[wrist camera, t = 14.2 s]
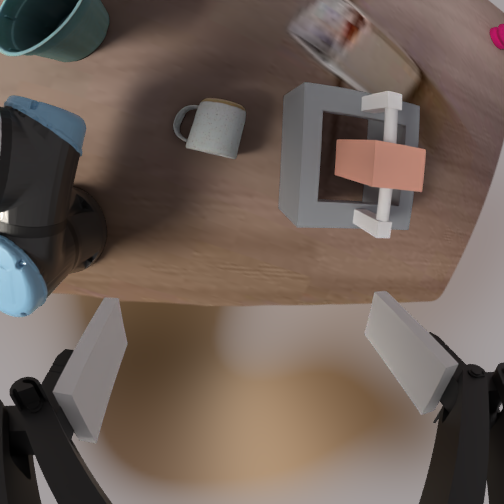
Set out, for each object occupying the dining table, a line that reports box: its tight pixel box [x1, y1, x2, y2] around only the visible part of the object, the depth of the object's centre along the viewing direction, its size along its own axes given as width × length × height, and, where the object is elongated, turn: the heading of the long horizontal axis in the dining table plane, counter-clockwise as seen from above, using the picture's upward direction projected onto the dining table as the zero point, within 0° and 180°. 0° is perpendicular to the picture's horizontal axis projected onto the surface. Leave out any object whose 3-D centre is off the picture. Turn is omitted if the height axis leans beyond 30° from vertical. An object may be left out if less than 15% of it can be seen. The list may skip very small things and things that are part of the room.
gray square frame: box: [278, 82, 420, 238], centre depth 40 cm, size 18×19×19 cm
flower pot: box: [0, 0, 109, 62], centre depth 28 cm, size 16×16×16 cm
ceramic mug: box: [173, 98, 246, 159], centre depth 41 cm, size 11×8×8 cm
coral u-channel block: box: [335, 139, 426, 192], centre depth 34 cm, size 7×5×11 cm
